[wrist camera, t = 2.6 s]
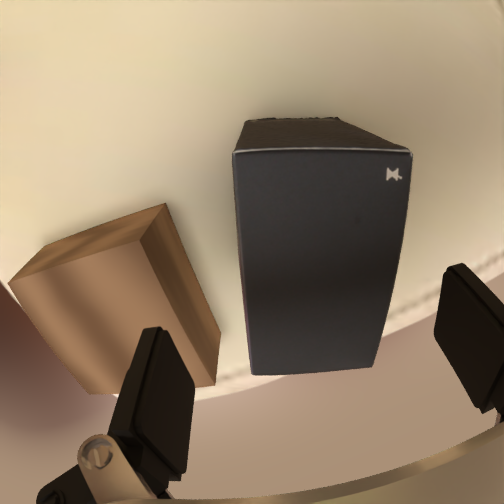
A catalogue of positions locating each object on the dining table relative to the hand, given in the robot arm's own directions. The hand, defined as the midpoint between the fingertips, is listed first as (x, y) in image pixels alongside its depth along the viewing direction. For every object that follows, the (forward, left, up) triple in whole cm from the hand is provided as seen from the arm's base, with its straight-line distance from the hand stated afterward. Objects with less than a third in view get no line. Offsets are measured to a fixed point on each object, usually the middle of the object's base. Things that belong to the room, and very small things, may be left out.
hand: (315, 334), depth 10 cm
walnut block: (+13, +5, -13) cm, 19 cm away
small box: (-1, 0, -13) cm, 13 cm away
